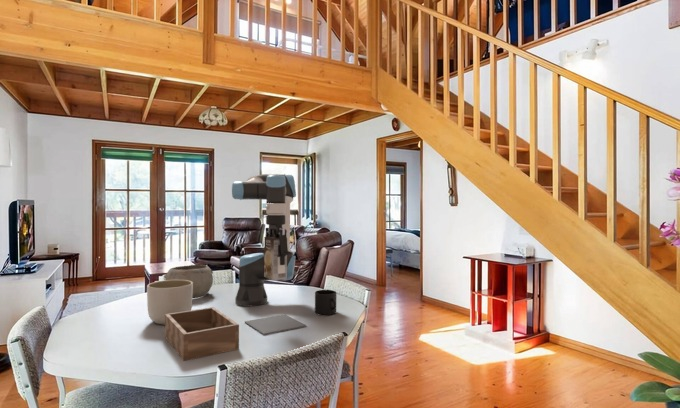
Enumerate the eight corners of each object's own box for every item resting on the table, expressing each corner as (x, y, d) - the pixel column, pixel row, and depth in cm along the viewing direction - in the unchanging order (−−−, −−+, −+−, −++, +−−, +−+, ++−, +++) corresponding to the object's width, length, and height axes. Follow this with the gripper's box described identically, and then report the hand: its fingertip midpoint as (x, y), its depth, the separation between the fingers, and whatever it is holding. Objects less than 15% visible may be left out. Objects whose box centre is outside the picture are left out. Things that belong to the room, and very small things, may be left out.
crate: (164, 336, 142) (165, 314, 142) (213, 327, 152) (213, 307, 152) (183, 360, 121) (183, 334, 121) (238, 348, 131) (239, 324, 131)
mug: (326, 318, 166) (326, 296, 166) (310, 311, 175) (310, 291, 175) (344, 314, 171) (344, 293, 171) (328, 308, 181) (328, 288, 181)
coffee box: (263, 276, 159) (263, 236, 159) (278, 275, 162) (278, 235, 162) (272, 280, 151) (272, 238, 151) (287, 278, 154) (288, 237, 154)
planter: (136, 324, 155) (137, 286, 155) (169, 313, 171) (169, 278, 171) (171, 330, 150) (171, 289, 149) (201, 317, 165) (201, 281, 165)
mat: (244, 322, 159) (244, 321, 159) (285, 315, 169) (285, 314, 169) (263, 335, 144) (263, 333, 144) (306, 326, 154) (306, 325, 154)
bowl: (202, 289, 220) (202, 262, 220) (220, 296, 203) (221, 267, 203) (158, 295, 204) (158, 266, 204) (175, 304, 187) (175, 272, 187)
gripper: (255, 213, 163) (255, 268, 163) (279, 215, 145) (279, 276, 145) (272, 213, 167) (272, 266, 168) (297, 215, 150) (297, 274, 150)
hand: (275, 271), depth 156 cm, fingers closed on coffee box, 9 cm apart
